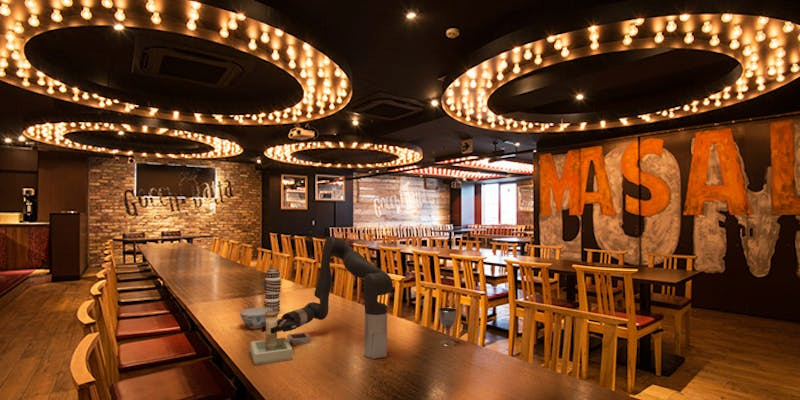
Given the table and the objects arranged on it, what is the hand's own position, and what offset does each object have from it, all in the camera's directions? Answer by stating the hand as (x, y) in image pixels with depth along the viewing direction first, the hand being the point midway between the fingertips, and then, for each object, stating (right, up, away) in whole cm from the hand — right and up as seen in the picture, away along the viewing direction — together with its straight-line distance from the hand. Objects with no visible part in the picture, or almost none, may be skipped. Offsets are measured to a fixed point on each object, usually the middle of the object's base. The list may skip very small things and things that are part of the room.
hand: (266, 330), depth 158 cm
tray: (+1, -11, +2) cm, 11 cm away
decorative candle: (-19, -13, +67) cm, 71 cm away
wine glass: (+74, -13, +20) cm, 78 cm away
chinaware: (-19, -12, +41) cm, 47 cm away
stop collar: (+7, -12, +21) cm, 25 cm away
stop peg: (+1, -9, +2) cm, 9 cm away
